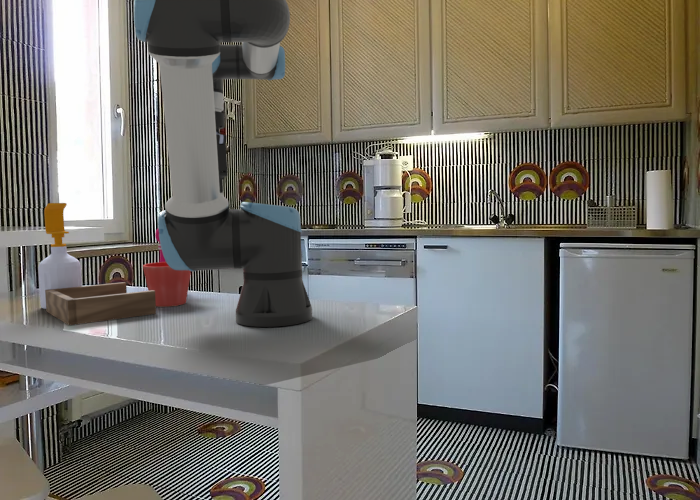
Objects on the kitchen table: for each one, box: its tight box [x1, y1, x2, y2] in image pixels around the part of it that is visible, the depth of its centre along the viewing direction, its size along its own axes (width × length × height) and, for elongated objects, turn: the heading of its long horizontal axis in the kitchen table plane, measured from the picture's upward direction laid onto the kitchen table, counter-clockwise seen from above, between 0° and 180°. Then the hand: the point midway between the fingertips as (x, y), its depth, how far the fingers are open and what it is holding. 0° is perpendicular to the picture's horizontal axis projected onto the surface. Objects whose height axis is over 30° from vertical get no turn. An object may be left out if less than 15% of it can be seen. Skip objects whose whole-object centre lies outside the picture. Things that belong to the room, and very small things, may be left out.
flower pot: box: [142, 261, 192, 308], centre depth 140 cm, size 11×11×10 cm
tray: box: [45, 281, 157, 326], centre depth 130 cm, size 21×18×5 cm
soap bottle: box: [37, 202, 83, 310], centre depth 140 cm, size 9×9×25 cm
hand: (212, 206), depth 146 cm, fingers open, 6 cm apart
